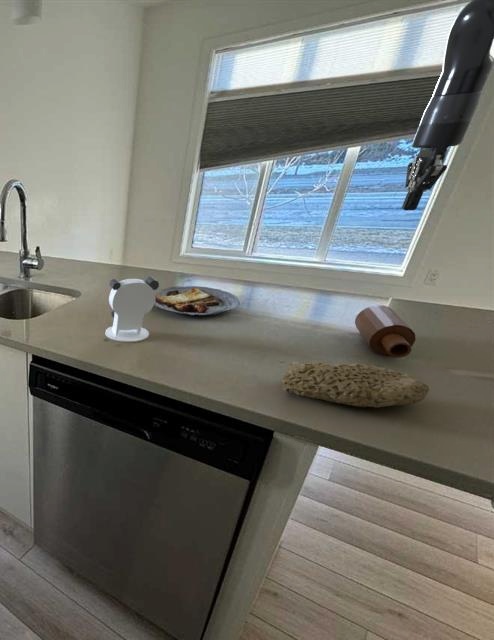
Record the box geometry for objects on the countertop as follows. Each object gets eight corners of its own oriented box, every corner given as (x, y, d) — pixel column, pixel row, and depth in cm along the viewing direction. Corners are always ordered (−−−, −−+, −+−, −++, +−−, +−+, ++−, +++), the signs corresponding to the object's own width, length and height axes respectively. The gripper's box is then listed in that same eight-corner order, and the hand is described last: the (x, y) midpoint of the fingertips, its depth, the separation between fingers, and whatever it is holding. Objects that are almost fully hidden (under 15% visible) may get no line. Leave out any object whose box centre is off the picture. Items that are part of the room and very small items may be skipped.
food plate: (179, 325, 112) (182, 313, 111) (133, 300, 132) (134, 290, 130) (255, 311, 117) (259, 299, 115) (200, 289, 136) (202, 279, 135)
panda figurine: (143, 324, 115) (150, 272, 108) (157, 340, 105) (165, 284, 98) (101, 327, 116) (104, 275, 108) (111, 343, 106) (116, 288, 98)
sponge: (278, 404, 79) (428, 422, 65) (281, 366, 77) (436, 375, 63) (291, 388, 88) (426, 400, 74) (294, 353, 86) (433, 358, 72)
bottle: (400, 306, 94) (431, 336, 81) (387, 334, 98) (415, 367, 84) (361, 304, 97) (384, 332, 84) (350, 331, 101) (370, 363, 87)
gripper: (487, 117, 77) (443, 214, 86) (455, 119, 87) (418, 205, 96) (434, 122, 80) (397, 214, 89) (409, 123, 90) (377, 206, 99)
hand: (408, 209), depth 93 cm, fingers closed
